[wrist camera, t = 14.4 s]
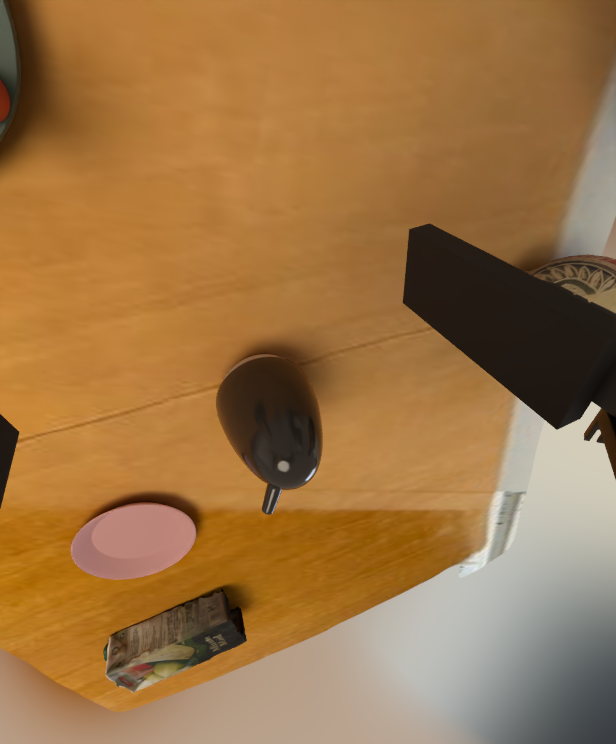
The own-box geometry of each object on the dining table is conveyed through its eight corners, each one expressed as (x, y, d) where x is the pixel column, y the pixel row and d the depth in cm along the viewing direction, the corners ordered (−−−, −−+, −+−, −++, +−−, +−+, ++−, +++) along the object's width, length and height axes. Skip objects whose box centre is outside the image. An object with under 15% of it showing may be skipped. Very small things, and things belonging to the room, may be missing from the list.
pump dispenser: (197, 408, 40) (211, 521, 28) (233, 328, 37) (266, 419, 25) (277, 424, 46) (318, 527, 33) (315, 355, 42) (376, 442, 30)
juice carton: (130, 659, 62) (127, 703, 57) (100, 638, 56) (94, 684, 51) (242, 607, 65) (248, 644, 60) (224, 581, 60) (229, 620, 55)
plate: (216, 524, 51) (217, 536, 50) (132, 577, 52) (131, 591, 50) (145, 474, 43) (144, 487, 41) (44, 538, 43) (40, 553, 41)
